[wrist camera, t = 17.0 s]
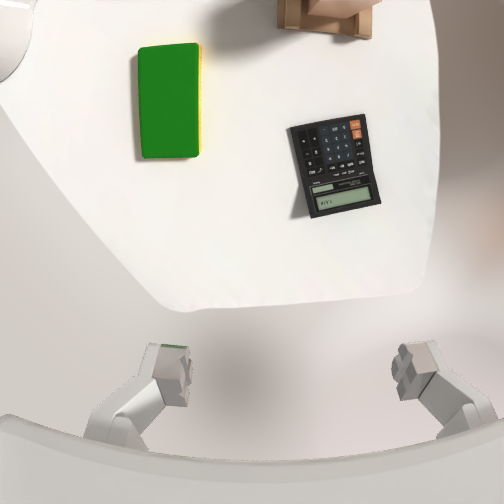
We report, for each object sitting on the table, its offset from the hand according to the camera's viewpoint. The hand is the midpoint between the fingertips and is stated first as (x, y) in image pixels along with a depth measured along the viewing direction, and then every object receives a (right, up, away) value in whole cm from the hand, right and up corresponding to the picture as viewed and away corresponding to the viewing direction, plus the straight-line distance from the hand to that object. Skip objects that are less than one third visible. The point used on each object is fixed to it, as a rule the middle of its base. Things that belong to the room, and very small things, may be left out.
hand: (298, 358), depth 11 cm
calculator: (+9, +15, +28) cm, 33 cm away
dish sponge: (-11, +22, +24) cm, 34 cm away
